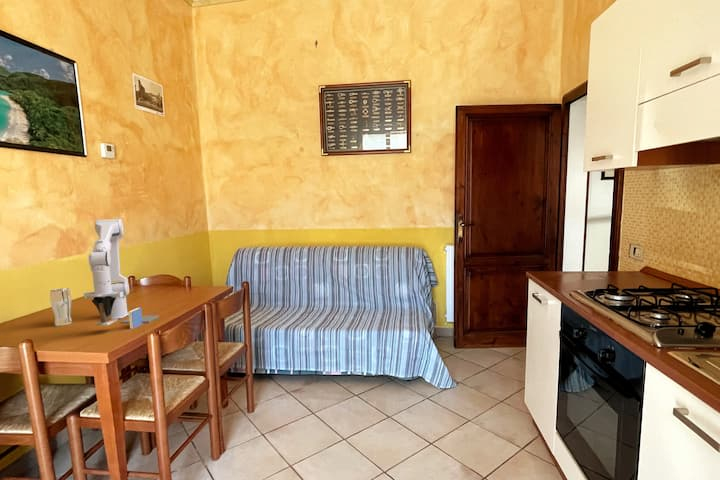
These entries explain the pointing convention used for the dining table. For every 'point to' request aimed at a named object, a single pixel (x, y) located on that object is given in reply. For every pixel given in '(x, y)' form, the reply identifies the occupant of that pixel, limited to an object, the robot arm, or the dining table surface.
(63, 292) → the beer glass
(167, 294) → the dining table surface
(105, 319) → the grey upright block
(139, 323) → the tile
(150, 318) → the rest mat
